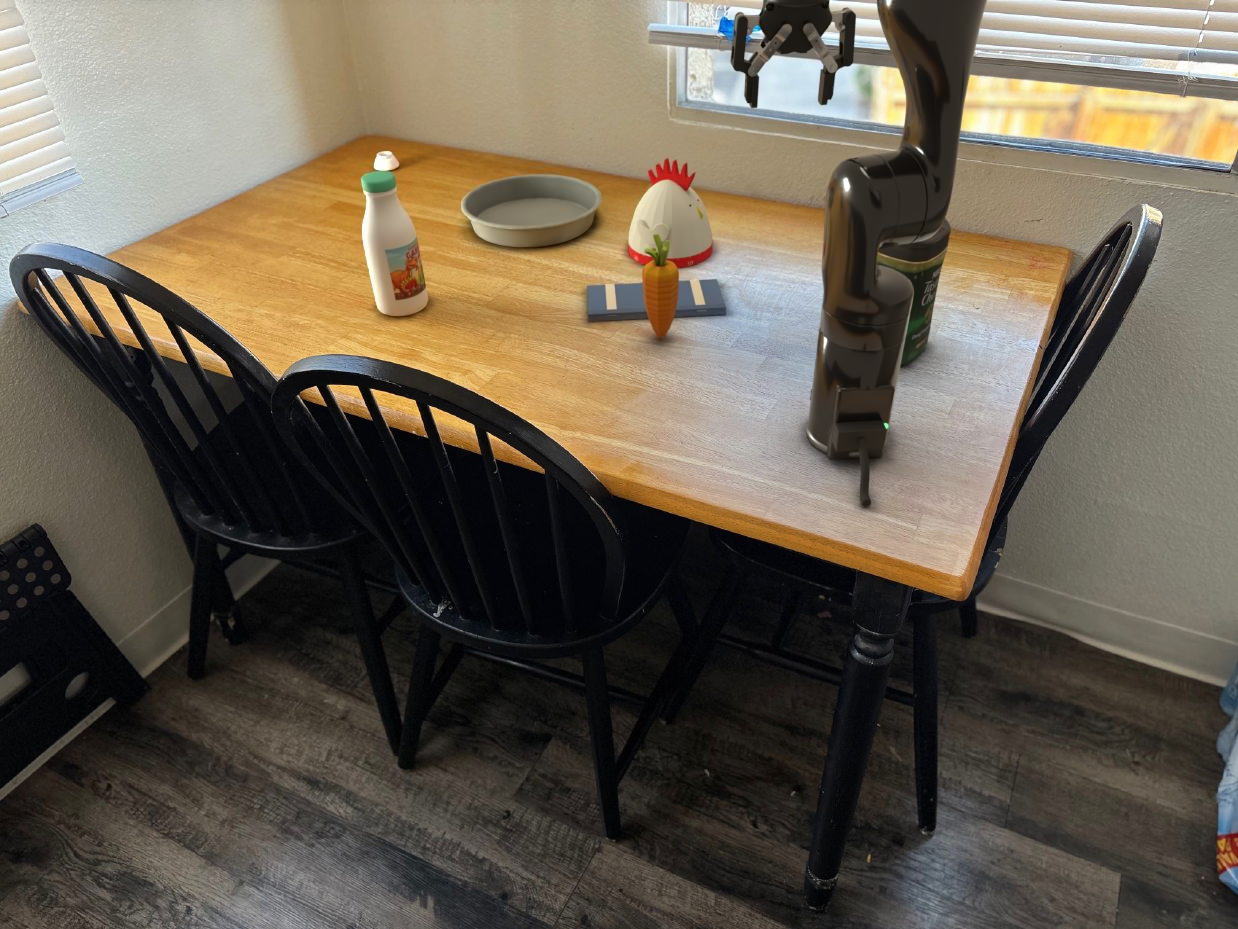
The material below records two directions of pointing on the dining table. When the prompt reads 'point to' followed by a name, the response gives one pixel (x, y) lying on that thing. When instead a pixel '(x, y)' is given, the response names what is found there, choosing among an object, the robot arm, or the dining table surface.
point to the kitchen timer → (671, 219)
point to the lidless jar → (385, 161)
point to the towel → (630, 302)
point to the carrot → (660, 288)
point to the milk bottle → (391, 248)
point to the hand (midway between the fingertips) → (787, 104)
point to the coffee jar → (919, 283)
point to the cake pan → (532, 209)
